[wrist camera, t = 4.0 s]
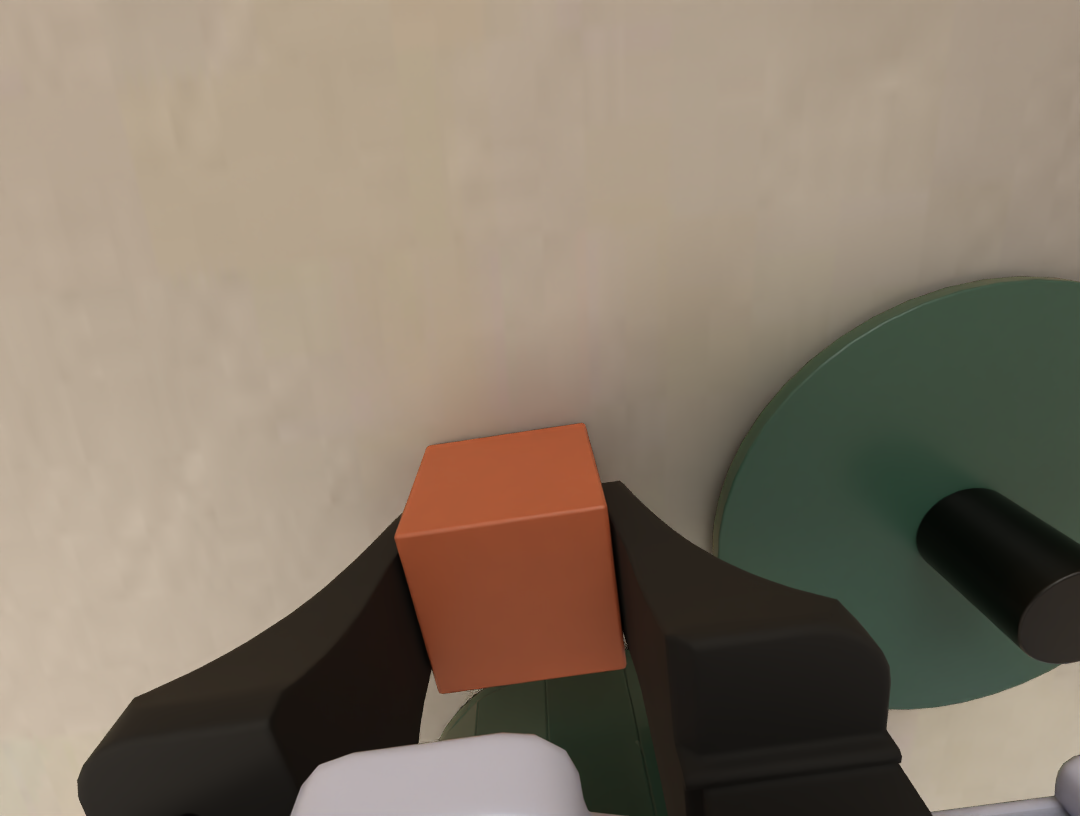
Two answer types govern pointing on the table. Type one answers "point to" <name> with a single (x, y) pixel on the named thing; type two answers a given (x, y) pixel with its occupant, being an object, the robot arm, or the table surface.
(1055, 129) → the table surface
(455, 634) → the block
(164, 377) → the table surface
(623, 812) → the pot
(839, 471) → the lid
